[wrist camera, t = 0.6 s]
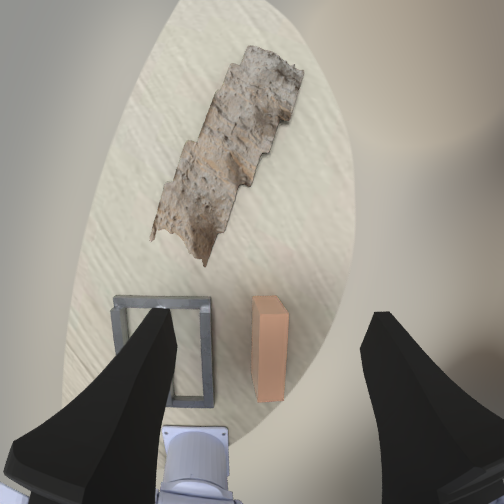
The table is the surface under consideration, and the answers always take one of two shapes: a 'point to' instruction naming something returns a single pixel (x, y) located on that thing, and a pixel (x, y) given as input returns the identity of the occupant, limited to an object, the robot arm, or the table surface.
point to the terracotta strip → (269, 347)
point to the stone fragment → (227, 149)
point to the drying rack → (205, 332)
